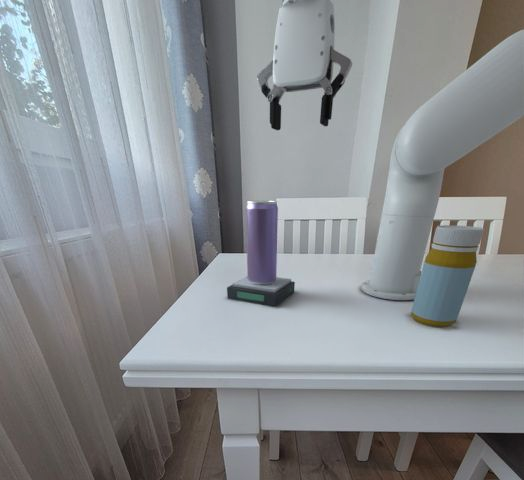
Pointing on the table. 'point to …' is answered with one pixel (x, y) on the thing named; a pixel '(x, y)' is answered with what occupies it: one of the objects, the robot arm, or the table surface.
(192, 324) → the table surface
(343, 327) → the table surface
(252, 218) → the beverage can
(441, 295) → the bottle
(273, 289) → the scale
